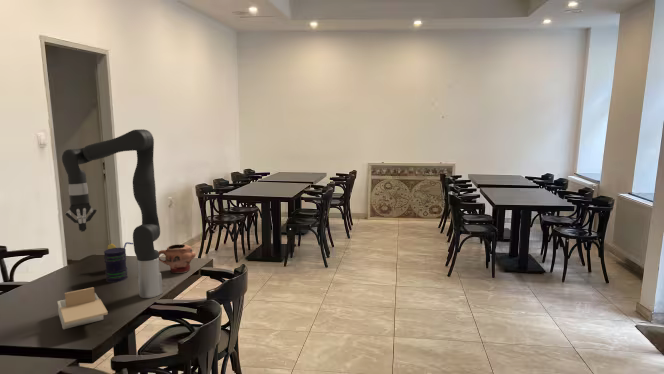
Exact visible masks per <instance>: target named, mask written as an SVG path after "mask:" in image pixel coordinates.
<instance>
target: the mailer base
mask: <svg viewBox="0 0 664 374" xmlns="http://www.w3.org/2000/svg"><path fill="white" fill-rule="evenodd" d="M94 293H95V300H97V299H100V298H99V297H98V296H99V295H97V293H96V292H94ZM65 306H66V301H65V299H63V300H62V299H61V300H57V309H58V310H57V311H58V312H57V313H58V318H59V321H60V324H61V327H62V330H66V329H71V328H74V327H75V328H76V327H78V326H83V325H87V324H91V323H96V322H100V321H103V320H105V318H104V316H105V315H102V316H98V317H94V318H90V319H86V320H81V321H77V322H73V323H69V324H65V323H64V320H63V317H62V314H61V310H60V308H61V307H65Z"/></svg>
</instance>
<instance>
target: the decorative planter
mask: <svg viewBox="0 0 664 374" xmlns="http://www.w3.org/2000/svg"><path fill="white" fill-rule="evenodd" d="M158 252H159V262H161V263H163V264H165V265H166V266H169V267H170V272H171V273H173V274H183V273H186V272H187V273H188V272H189V271H190V269H191V262H192V261H193V260H194V259H195V258H196V255H197V254H196V252H195V251H193V247H192V246H191V245H188V244H180V243H179V244H171V245H169V246H167V247H166V249H161V250H159V251H158ZM161 254H162V255H164V256H165V260H162V259H161V258H160V256H161Z"/></svg>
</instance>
